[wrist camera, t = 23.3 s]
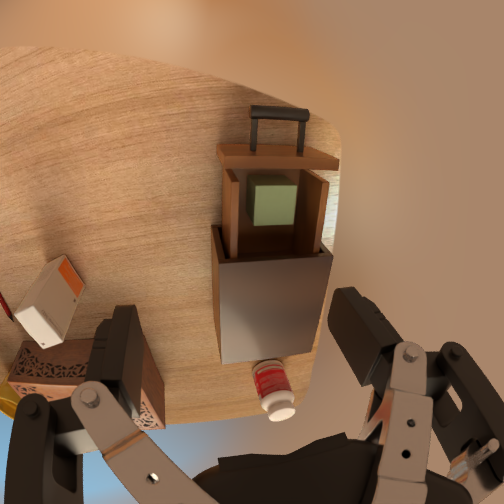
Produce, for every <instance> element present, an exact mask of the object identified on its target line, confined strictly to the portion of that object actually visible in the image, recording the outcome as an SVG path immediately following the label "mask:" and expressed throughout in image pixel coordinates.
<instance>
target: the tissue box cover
mask: <svg viewBox="0 0 504 504" xmlns="http://www.w3.org/2000/svg"><path fill="white" fill-rule="evenodd" d="M143 338H144V355H143V368H142V385H141V408H140V418H132V420H133V422H134V423H135V424H136V425H137V426H138V428H139V429H140V430H152V429H165V398H164V384H163V381H162V379H161V377H160V374H159V372H158V370H157V367H156V365H155V362H154V360H153V357H152V355H151V352H150V350H149V347H148V345H147V342H146V339H145V337H144V335H143ZM93 341H94V339H82V340H64V341H63V342H62V343H59V344H57V345H54V346H51V347H48V348H45V349H43V348H42V347H41V346H40V345H39V344H38V343H37V342H36V341H23V342H22V344H21V347H20V349H19V351H18V354H17V356H16V358H15V361H14V363H13V366H12V368H11V371H10V374H9V376H8V379H7V382H8V383H9V384H10V386H11V387H12V388H13V389H14V390H15V392H16V393H17V394H18V395H19V396H20V397H21V399H22V398H23V397H24V396H26V395H28V394H31V393H38V394H41V395H43V396H44V397H45V398H46V399H47V400H48V402H49V401H54V400H58V399H63V398H67V397H69V396H71V395H72V392H73V391H74V389H75V388H76V387H77V386H78V385H80V384H81V383H84V379H85V374H86V370H87V365H88V361H89V357H90V353H91V349H92V345H93Z"/></svg>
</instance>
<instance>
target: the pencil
mask: <svg viewBox="0 0 504 504" xmlns="http://www.w3.org/2000/svg"><path fill="white" fill-rule="evenodd" d="M0 303H1V305H2V307H3V309H4V310H5V312H6V314H7V316H8V317H9V318H10V319H11V320H12V321H13V318H12V314H11V312H10V310H9V308H8V306H7V305H6V303H5V301H4V299H3V297H2V295H1V293H0ZM13 322H14V321H13Z"/></svg>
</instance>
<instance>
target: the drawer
mask: <svg viewBox="0 0 504 504" xmlns="http://www.w3.org/2000/svg"><path fill="white" fill-rule="evenodd" d="M309 116H310V113H309V110H308V109H301V108H291V107H279V106H263V105H250V106H249V118H250V119H251V129H250V144H217V153H216V154H217V156H218V158H219V160H220V161H221V163H222V165H223V174H222V248H223V252H224V256H225V259H240V258H256V257H271V256H287V255H302V254H317V253H319V250H320V244H321V237H322V231H323V225H324V218H325V211H326V205H327V197H328V190H329V182H328V181H326V180H325V179H323V178H322V177H320V176H319V175H317V174H315V173H314V172H312V171H311V170H309V169H312V170H332V171H338V168H339V159H337V158H335V157H333V156H330V155H328V154H326V153H324V152H321V151H319V150H317V149H314V148H312V147H308V146H304V139H305V127H306V122H308V120H309ZM258 119H273V120H288V121H299V125H298V138H297V146H291V145H266V144H257V128H258ZM247 175H285V176H286V177H287V178H289V179H290V180H291V181H292V182H293V183H295V184H296V185H297V193H296V203H295V213H294V222H293V224H288V225H263V226H254V225H253V223H252V222H251V220H250V218H249V216H248V214H247V212H246V197H247Z"/></svg>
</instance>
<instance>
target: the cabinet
mask: <svg viewBox="0 0 504 504" xmlns="http://www.w3.org/2000/svg"><path fill="white" fill-rule="evenodd" d="M211 254H212V287H213V311H214V322H215V329H216V335H217V341H218V347H219V353H220V359H221V364H230V363H240V362H248V361H256V360H264V359H271V358H278V357H285V356H291V355H297V354H303V353H309V352H311V350H312V347H313V343H314V339H315V335H316V331H317V327H318V323H319V319H320V315H321V311H322V307H323V302H324V298H325V294H326V289H327V285H328V280H329V275H330V271H331V266H332V261H333V255H332V254H331V253H330V251H329V250H328V249H327V248H326V247H325V246H324V244H323V243H322V242H321V244H320V250H319V253H317V254H302V255H287V256H271V257H256V258H240V259H225V256H224V252H223V248H222V225H211Z"/></svg>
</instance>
